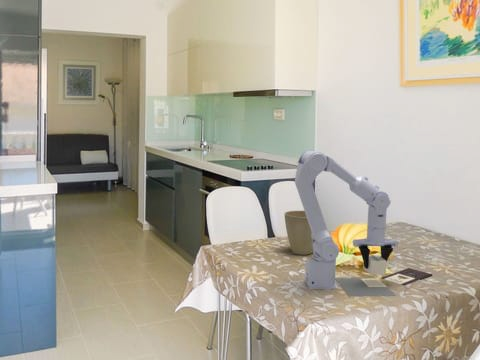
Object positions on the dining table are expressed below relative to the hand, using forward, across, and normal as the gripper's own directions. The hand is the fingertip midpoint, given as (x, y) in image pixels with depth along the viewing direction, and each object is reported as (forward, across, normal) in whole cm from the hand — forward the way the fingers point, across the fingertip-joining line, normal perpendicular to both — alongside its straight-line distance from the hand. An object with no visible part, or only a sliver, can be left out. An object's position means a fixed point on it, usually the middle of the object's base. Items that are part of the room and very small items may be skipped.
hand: (374, 267), depth 161 cm
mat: (+6, -5, -4) cm, 8 cm away
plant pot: (+6, -16, +38) cm, 42 cm away
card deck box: (+1, 0, 0) cm, 1 cm away
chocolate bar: (+6, +14, +6) cm, 16 cm away
